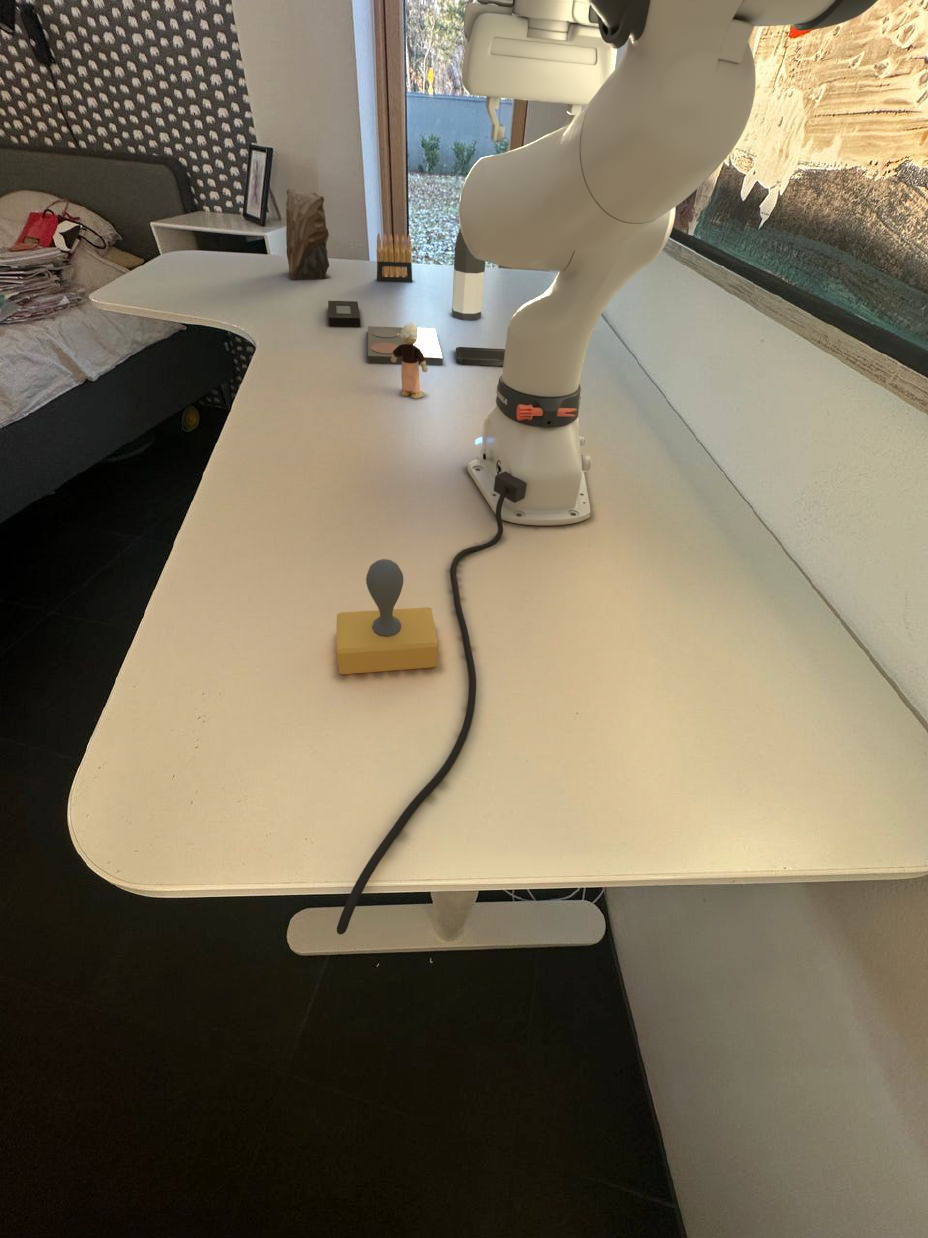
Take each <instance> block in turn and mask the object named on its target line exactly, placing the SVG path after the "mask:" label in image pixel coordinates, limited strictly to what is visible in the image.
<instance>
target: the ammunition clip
mask: <svg viewBox="0 0 928 1238" xmlns="http://www.w3.org/2000/svg"><path fill="white" fill-rule="evenodd" d="M411 240H412V239H411V236H410V234H408V235H407V239H406V241H405V235H404V234H403V233H402V234H401V238H400V240H399V235H398V234H397V233H396V234H395V237H394V239H393V235H392V233H390V234H389V237H388V239H387V235H386V233H383V237H382V238H381V235H380V233H379V232H378V233H377V237H376V280H377V282H387V283H389V282H391V283H393V282H394V283H413V265H412V263H413V262H412V259H413V258H412V256H413V255H412V254H413V253H412V241H411Z"/></svg>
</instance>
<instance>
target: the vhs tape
mask: <svg viewBox="0 0 928 1238" xmlns="http://www.w3.org/2000/svg"><path fill="white" fill-rule="evenodd" d="M327 312H328V313H327V314H328V316H327V318H328V326H329V327H347V328H348V327H352V328H353V327H357V328H361V327H362V326H361V315H360V308H359V302H358V301H355V300H353V301H351V300H327Z"/></svg>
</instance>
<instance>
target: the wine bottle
mask: <svg viewBox="0 0 928 1238" xmlns="http://www.w3.org/2000/svg"><path fill="white" fill-rule="evenodd" d="M485 272H486V261H483V260H479V259H476V258H475V257H474V256H473V255H472V253H471V252H470V250H469V249H468V247H467V245H466V243H465V241H464V238H463V235H462V232H461V228H459V230H458V233H457V236H456V240H455V244H454V256H453V278H452V300H451V315H452V317H453V318H456V319H458V320H462V321H476V320H478V319H481V316H482V308H483V296H484V283H485Z"/></svg>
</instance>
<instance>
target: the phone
mask: <svg viewBox="0 0 928 1238" xmlns="http://www.w3.org/2000/svg"><path fill="white" fill-rule="evenodd" d="M454 353H455V359H456V363H457V364H458V365H468V366H469V365H472V366H490V367H491V366H493V367H503V364H504V355H505V348H489V347H468V346H457V347H455V352H454Z"/></svg>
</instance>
